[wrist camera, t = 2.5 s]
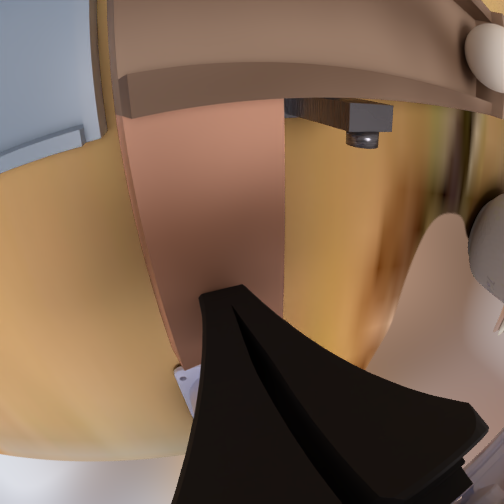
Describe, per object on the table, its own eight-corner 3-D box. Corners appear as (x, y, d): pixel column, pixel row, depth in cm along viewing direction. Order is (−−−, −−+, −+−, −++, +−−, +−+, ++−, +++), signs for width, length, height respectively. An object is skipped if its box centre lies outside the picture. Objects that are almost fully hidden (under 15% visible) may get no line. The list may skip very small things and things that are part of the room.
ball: (478, 88, 12) (533, 105, 9) (453, 78, 11) (521, 97, 8) (477, 30, 10) (534, 42, 7) (451, 10, 9) (519, 19, 6)
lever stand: (332, 122, 15) (409, 147, 10) (261, 125, 14) (325, 151, 9) (324, -57, 9) (396, -87, 4) (251, -70, 8) (307, -121, 3)
